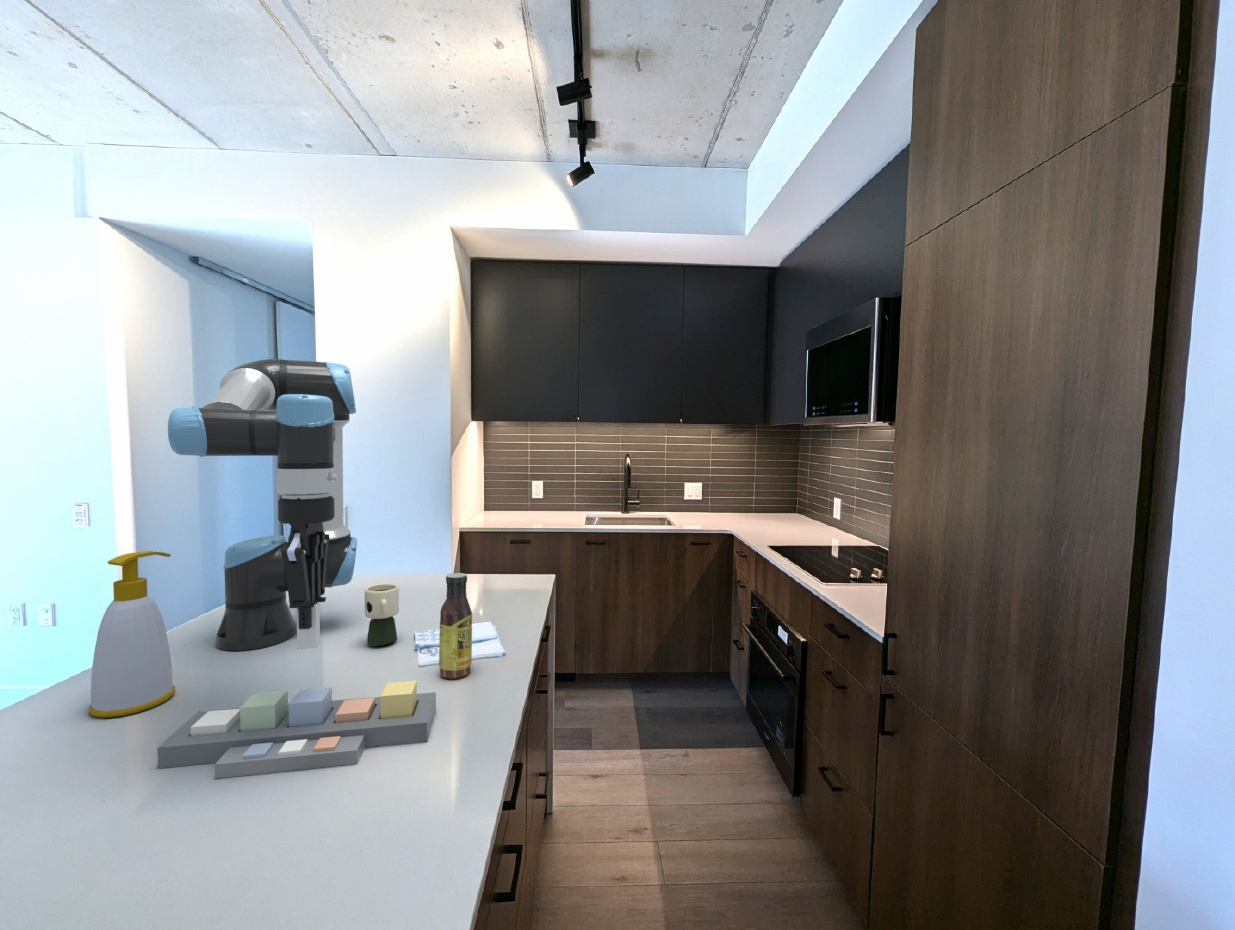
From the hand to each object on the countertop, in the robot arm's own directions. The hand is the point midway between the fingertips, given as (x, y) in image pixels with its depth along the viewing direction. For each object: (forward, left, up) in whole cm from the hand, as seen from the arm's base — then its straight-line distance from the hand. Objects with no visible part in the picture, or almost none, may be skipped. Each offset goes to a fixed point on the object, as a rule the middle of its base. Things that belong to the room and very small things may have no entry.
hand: (308, 646), depth 81 cm
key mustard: (0, +13, -12) cm, 18 cm away
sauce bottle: (-19, +20, -15) cm, 31 cm away
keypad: (+2, 0, -14) cm, 14 cm away
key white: (0, -13, -14) cm, 19 cm away
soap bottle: (-17, -34, -15) cm, 41 cm away
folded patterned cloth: (-34, +19, -15) cm, 42 cm away
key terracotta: (0, +7, -14) cm, 16 cm away
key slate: (0, 0, -12) cm, 12 cm away
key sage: (0, -6, -12) cm, 13 cm away
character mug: (-38, +2, -15) cm, 41 cm away
